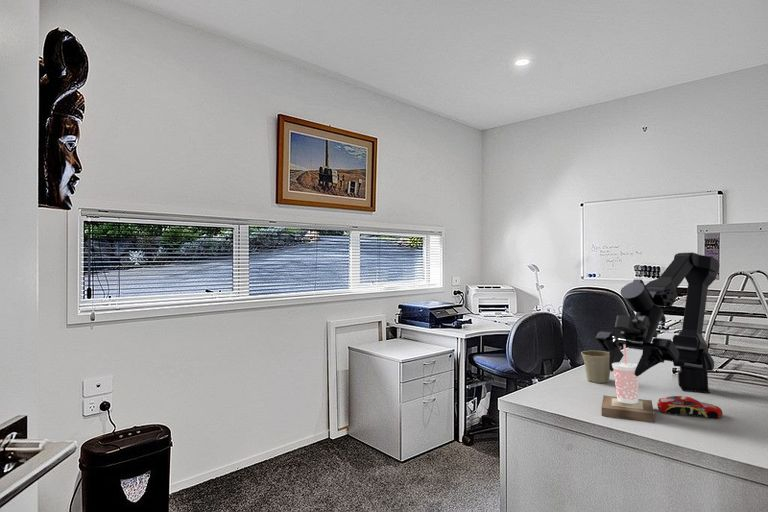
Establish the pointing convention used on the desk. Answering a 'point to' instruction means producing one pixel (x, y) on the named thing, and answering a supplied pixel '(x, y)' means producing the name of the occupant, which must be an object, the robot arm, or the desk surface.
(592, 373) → the flower pot
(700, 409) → the race car
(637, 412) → the walnut slab
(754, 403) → the desk surface
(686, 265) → the robot arm
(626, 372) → the beverage cup
